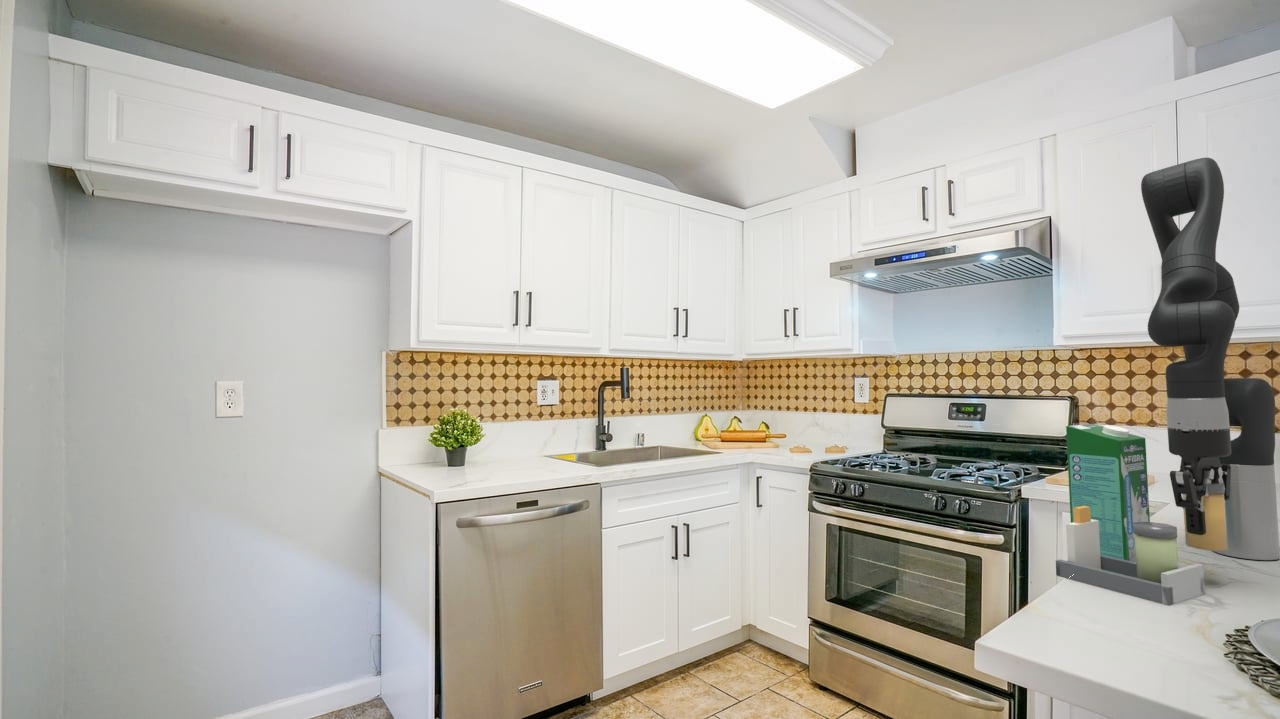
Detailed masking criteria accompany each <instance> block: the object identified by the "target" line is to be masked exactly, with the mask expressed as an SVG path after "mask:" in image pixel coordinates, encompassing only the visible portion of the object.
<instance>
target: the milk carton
mask: <svg viewBox="0 0 1280 719" xmlns="http://www.w3.org/2000/svg"><path fill="white" fill-rule="evenodd" d="M1065 429H1066V430H1065V432H1066V433H1065V435H1066V449H1067V450H1066V452H1067V453H1066V456H1067V472H1068V492H1069V494H1068V495H1069V509H1070V511H1069V513H1070V514H1069V515H1070V523H1073V522H1074V513H1073V508H1075V507H1081V506H1088V507H1090V513H1091V519H1093V520H1099V538H1100V554H1101V555H1105V556H1110V557H1114V558H1119V559H1123V560H1128V561H1132V562H1136V550H1135V533H1134V528H1133V523H1135V522H1151V521H1150V520H1151V518H1150V516H1151V515H1150V501H1149V498H1150V497H1149V484H1148V464H1147V462H1148V461H1147V447H1146V437H1144V436H1139V435H1136V434H1133V433H1130V430H1129V429H1127V428H1123V427H1120V426H1117V425H1110V424H1108V425H1107V424H1106V425H1105V424H1104V425H1103V426H1102V425H1099V424H1095V423H1085V424H1075V425H1065Z"/></svg>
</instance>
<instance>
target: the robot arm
mask: <svg viewBox="0 0 1280 719" xmlns="http://www.w3.org/2000/svg"><path fill="white" fill-rule="evenodd" d="M1222 174H1223V173H1222V171H1221V169H1220V166H1219V164H1218V163H1217V161H1215V159H1213V158H1211V157H1201V158H1196V159H1192V160H1188V161H1186V162H1185V161H1184V162H1181V163H1179V164H1175V165H1171V166H1168V167H1164V168H1161V169H1157V170H1154V171H1152V172H1148V173H1146V174H1145V175H1144V176H1142V178H1141V184H1140V189H1141V190H1140V192H1141V197H1142V200H1143V204H1144V208H1145V210H1146V213H1147V217H1148V220H1149V223H1150V226H1151V228H1152V232H1153V234H1154V237H1155V240H1156V244H1157V247H1158V250H1159V253H1160V257H1161V258H1160V259H1161V272H1160V273H1161V274H1160V275H1161V277H1160V278H1161V288H1160V292H1159V294H1158V297H1157V300H1156V302H1155V304H1154V306H1153V308H1152V310H1151V312H1150V315H1149V317H1148V321H1147V333H1148V336H1149V339H1151V340H1152V342H1153V343H1154V344H1156V345H1158V346H1161V347H1164V348H1165V347H1166V348H1172V347H1173V348H1176V347H1182V348H1183V354H1184V360H1179V361H1174V362H1171V363H1169V364H1168V365H1167V366H1166V367H1165V381H1166V382H1165V383H1166V384H1165V387H1166V397H1167V398H1166V399H1167V402H1166V410H1165V412H1166V425H1167V426H1166V428H1167V441H1168V451H1169V453H1170V454H1171V455H1174V456H1179V457H1180V458H1181V460H1180V466H1179V470H1170V472H1169V478H1170V482H1171V486H1172V493H1173V498H1174V502H1175V506H1176V507H1178V508H1182V509H1185V513H1186V527H1187V532H1188V533H1191V534H1197V535H1204V534H1206V524H1205V512H1204V506H1205V498H1208V497H1209V496H1210V494H1209V485H1211V483H1224V488H1225V493H1224V500H1225V515H1226V529H1227V544H1228V549H1227V550H1223V551H1214V552H1215V553H1218V554H1220V555H1224V556H1229V557H1233V558H1240V559H1244V560H1245V559H1247V560H1259V561H1276V560H1280V535H1279V533H1280V531H1279V520H1278V519H1279V518H1278V502H1277V485H1276V472H1275V470H1276V469H1275V448H1276V434H1275V433H1276V399H1275V398H1276V397H1275V393H1274V390H1273V387H1272V386H1271V384H1270V383H1269V382H1268V381H1267V380H1265V379H1263V378H1259V377H1257V378H1256V377H1254V378H1253V377H1250V378H1249V377H1232V378H1231V377H1228V378H1227V377H1225V376H1224V375H1225V372H1224V371H1225V360H1226V355H1227V353H1228V352H1227V351H1228V348H1229V344H1230V341H1231V338H1232V335H1233V332H1234V328H1235V326H1236V321H1237V318H1238V316H1239V313H1240V302H1239V298H1238V294H1237V289H1236V285H1235V281H1234V278H1233V277H1232V274H1231V273H1230V272H1229V270H1227V269H1226V267H1224V265H1222V264H1220V263H1219V262H1218V261H1217V258H1216V254H1217V253H1216V252H1217V240H1218V237H1219V236H1218V235H1219V229H1220V225H1221V218H1222V214H1223V213H1222V212H1223V207H1224V195H1225V185H1224V179H1223V178H1224V177H1223V175H1222ZM1189 213H1193V215H1192V216H1191V217H1190V219H1189V221H1188V222H1187V223H1186V224H1185V225H1184V227H1183V228H1182V229H1181V230H1180V229H1179V227H1178V225H1177V224H1176V221H1175V220H1174V217H1176V216H1177V217H1178V216H1181V215H1186V214H1189ZM1230 427H1237V428H1239V427H1241V430H1240V434H1239V435H1238V437H1236V438H1233V439H1232V440H1231V430H1230ZM1194 485H1196V486H1201V485H1203V488H1202V490H1200V491H1197V490H1195V486H1194ZM1182 494H1183V495H1182ZM1197 496H1198V501H1197Z"/></svg>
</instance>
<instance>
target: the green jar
mask: <svg viewBox="0 0 1280 719" xmlns="http://www.w3.org/2000/svg"><path fill="white" fill-rule="evenodd" d="M1133 528H1134V533H1135V550H1136V569H1137V578H1139V579H1143V580H1147V581H1152V582H1156V583H1160V584H1161V573H1164V572H1167V571H1171V570H1175V569H1179V561H1178V560H1179V559H1178V542H1177V538H1178V529H1177V526H1174V525H1173V524H1168V523H1162V522H1153V521H1150V522H1135V523H1133Z"/></svg>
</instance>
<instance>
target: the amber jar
mask: <svg viewBox="0 0 1280 719" xmlns="http://www.w3.org/2000/svg"><path fill="white" fill-rule="evenodd" d="M1194 486H1195V490H1197V491H1200V490H1202V488H1203V485H1201V486H1196V485H1194ZM1224 493H1225V488H1224V483H1211V485H1209V494H1210V496H1209V497H1208V498H1205V506H1204V512H1205V524H1206V534H1204V535H1197V534H1191V533H1188V532H1187V527H1186V513H1185V509H1183V508H1182V509H1183V521H1184V523H1183V524H1184V525H1183V526H1184V534H1185V535H1184V536H1185V538H1184V539H1185V545H1186V546H1187V547H1190V548H1193V549H1197V550H1204V551H1213V552H1215V551H1223V550H1227V549H1228V544H1227V529H1226V515H1225V500H1224ZM1181 495H1182V496H1183V494H1181ZM1197 501H1198V496H1197Z"/></svg>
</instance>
